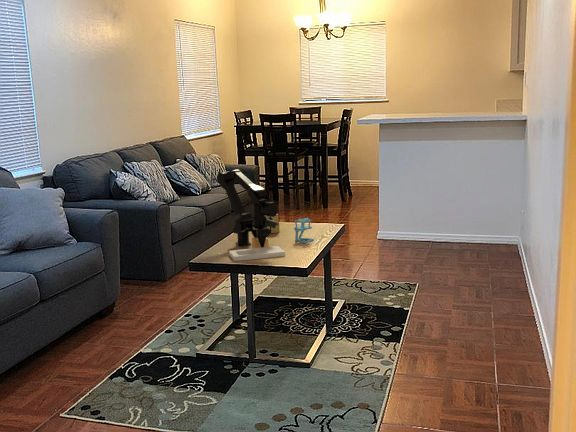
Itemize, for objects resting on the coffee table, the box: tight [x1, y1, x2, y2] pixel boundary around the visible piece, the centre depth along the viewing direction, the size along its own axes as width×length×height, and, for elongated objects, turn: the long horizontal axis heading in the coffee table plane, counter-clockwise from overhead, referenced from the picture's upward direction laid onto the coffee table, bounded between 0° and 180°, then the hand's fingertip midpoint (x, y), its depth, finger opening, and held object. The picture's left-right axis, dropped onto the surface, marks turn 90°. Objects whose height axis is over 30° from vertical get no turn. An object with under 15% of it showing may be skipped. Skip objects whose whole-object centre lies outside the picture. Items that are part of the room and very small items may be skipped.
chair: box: [293, 217, 315, 244], centre depth 321 cm, size 8×8×12 cm
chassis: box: [228, 245, 286, 262], centre depth 296 cm, size 12×24×2 cm, turn 107°
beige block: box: [251, 236, 270, 249], centre depth 310 cm, size 5×7×5 cm
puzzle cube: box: [264, 213, 280, 234], centre depth 345 cm, size 10×10×10 cm
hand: (260, 245), depth 310 cm, fingers open, 9 cm apart
